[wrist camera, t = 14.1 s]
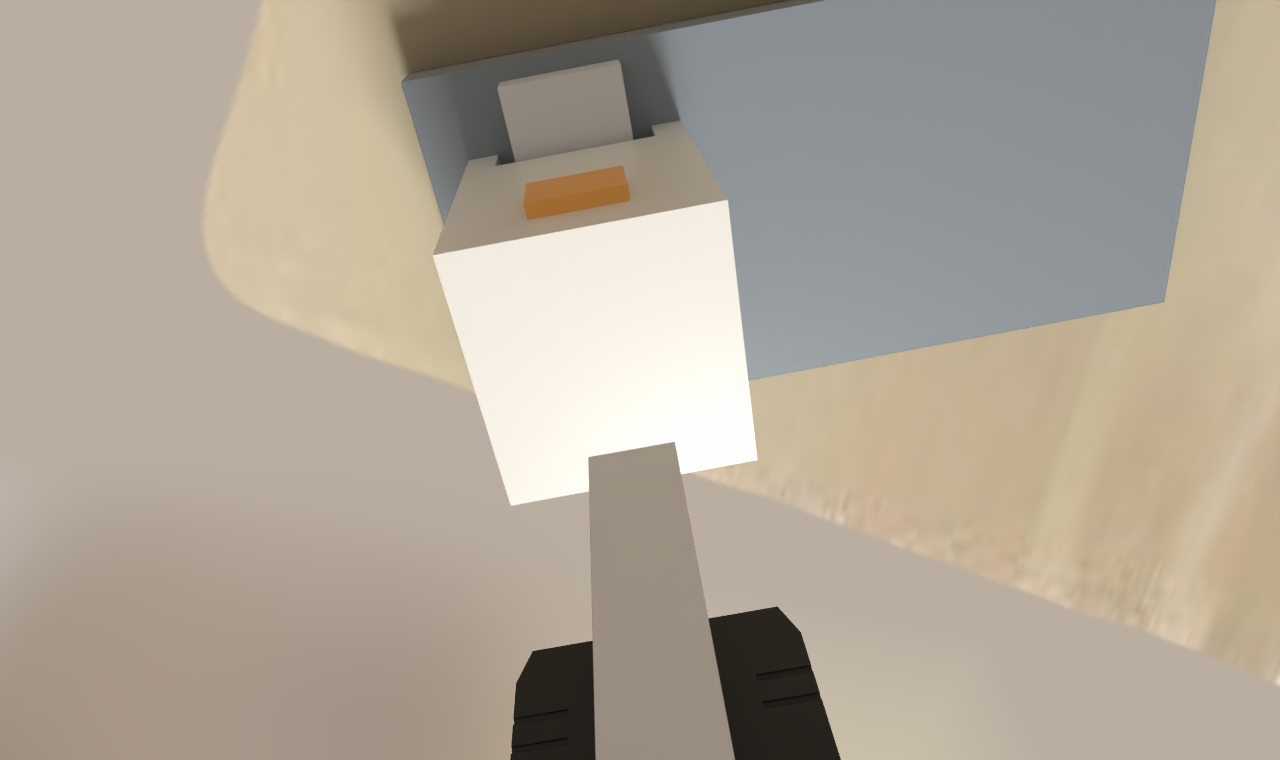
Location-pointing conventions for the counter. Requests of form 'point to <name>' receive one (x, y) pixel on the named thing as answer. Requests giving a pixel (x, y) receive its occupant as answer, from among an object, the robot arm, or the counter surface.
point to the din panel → (881, 154)
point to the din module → (598, 309)
